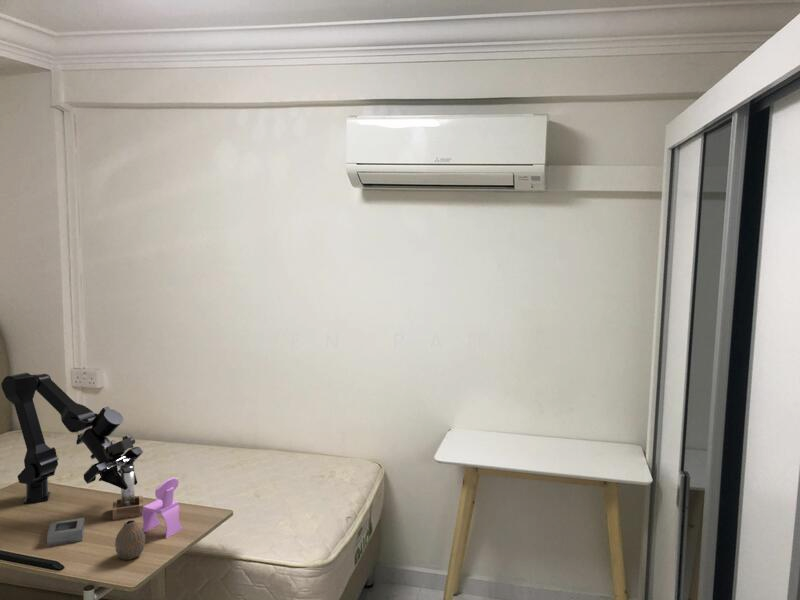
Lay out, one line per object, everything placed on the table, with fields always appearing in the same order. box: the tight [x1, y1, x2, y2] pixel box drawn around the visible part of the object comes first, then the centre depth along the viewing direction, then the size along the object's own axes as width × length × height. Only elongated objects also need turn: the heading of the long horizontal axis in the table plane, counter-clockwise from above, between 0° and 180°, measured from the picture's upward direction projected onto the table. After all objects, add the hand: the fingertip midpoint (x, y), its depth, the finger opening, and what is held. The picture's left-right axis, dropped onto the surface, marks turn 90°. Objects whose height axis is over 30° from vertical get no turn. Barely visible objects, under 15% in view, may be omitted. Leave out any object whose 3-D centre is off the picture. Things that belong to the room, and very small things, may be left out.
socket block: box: [46, 517, 85, 547], centre depth 159 cm, size 8×8×3 cm
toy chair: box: [142, 477, 184, 539], centre depth 164 cm, size 8×9×15 cm
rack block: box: [112, 495, 144, 521], centre depth 175 cm, size 8×8×3 cm
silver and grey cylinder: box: [120, 463, 135, 507], centre depth 175 cm, size 4×4×12 cm
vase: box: [114, 519, 146, 561], centre depth 149 cm, size 7×7×9 cm
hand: (131, 486), depth 175 cm, fingers closed on silver and grey cylinder, 4 cm apart
